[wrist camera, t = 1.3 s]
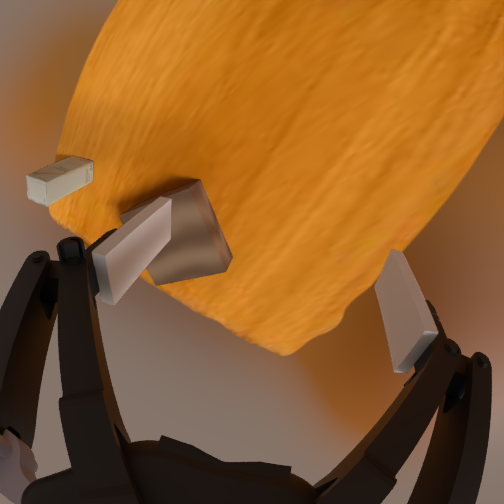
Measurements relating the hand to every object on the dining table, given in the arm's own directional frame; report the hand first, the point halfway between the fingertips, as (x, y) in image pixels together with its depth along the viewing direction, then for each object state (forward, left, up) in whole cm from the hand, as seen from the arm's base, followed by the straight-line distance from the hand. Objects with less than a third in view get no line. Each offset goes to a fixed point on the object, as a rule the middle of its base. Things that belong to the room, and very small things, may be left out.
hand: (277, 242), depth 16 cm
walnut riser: (+6, -22, -26) cm, 34 cm away
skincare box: (-12, -37, -26) cm, 46 cm away
